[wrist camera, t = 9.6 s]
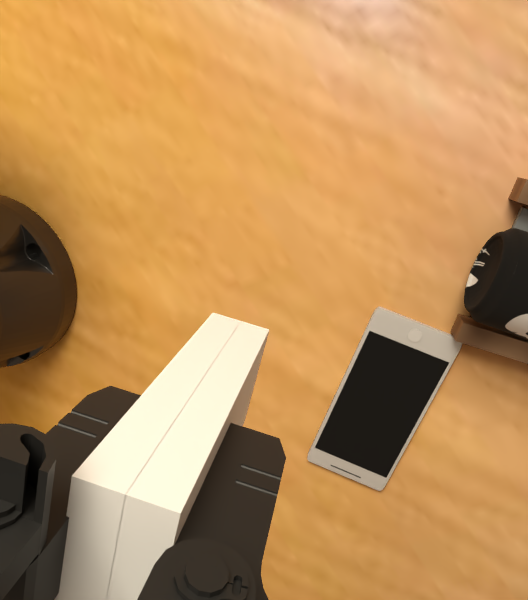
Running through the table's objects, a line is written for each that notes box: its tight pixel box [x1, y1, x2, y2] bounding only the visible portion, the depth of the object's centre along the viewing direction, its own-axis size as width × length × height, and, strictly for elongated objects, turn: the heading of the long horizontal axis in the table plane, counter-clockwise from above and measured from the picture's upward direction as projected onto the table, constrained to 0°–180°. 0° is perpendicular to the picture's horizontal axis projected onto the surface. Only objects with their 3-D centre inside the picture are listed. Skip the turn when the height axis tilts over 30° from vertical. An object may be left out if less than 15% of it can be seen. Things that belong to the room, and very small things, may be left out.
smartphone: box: [308, 307, 462, 491], centre depth 41 cm, size 7×16×1 cm, turn 160°
